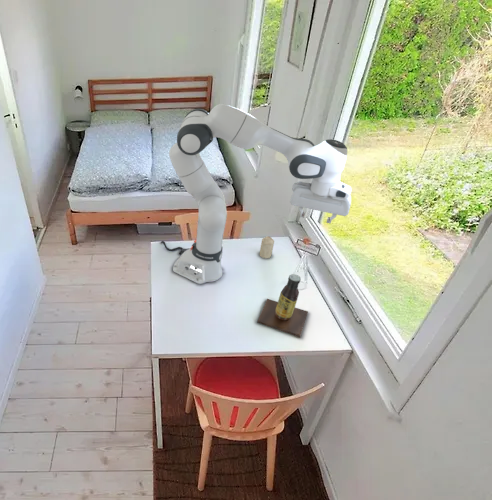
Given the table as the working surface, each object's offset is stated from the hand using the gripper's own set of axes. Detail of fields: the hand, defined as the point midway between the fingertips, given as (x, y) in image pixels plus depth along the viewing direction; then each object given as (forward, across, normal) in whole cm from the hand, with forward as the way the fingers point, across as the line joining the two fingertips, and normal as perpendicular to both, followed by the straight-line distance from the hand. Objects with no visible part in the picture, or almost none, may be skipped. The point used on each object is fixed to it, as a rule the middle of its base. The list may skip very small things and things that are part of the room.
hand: (315, 219), depth 143 cm
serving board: (+34, -1, -21) cm, 40 cm away
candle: (+34, -18, +17) cm, 42 cm away
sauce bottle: (+33, -1, -21) cm, 39 cm away
